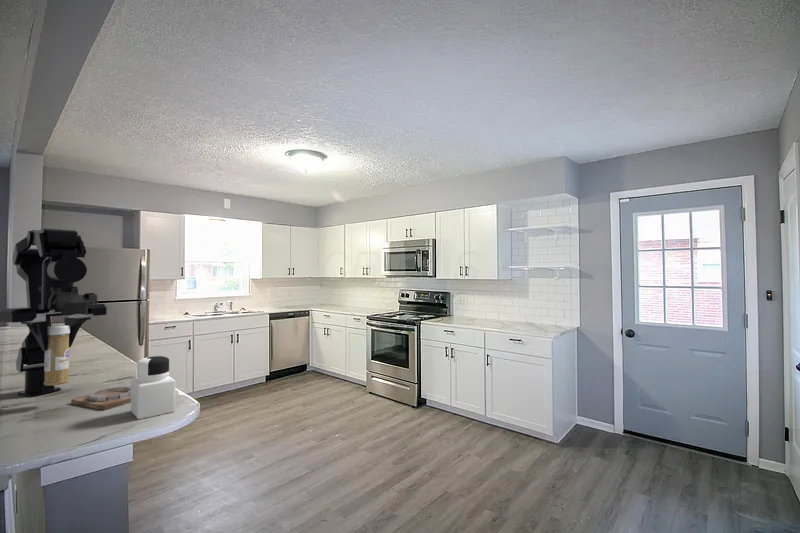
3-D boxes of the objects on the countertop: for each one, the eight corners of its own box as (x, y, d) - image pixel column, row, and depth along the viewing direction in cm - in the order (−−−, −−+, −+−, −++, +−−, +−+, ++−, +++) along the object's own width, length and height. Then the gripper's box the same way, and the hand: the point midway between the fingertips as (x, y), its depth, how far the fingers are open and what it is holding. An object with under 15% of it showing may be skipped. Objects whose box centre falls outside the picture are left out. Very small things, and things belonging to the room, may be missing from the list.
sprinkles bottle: (67, 384, 92) (68, 326, 92) (41, 387, 89) (42, 327, 90) (70, 379, 96) (71, 324, 96) (45, 382, 93) (46, 325, 93)
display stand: (71, 403, 93) (71, 395, 93) (119, 391, 103) (119, 383, 104) (104, 410, 89) (104, 401, 89) (151, 396, 99) (151, 388, 99)
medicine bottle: (166, 404, 93) (167, 353, 93) (175, 411, 88) (176, 357, 88) (130, 411, 88) (131, 357, 88) (137, 420, 83) (138, 362, 83)
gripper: (27, 283, 81) (26, 359, 81) (121, 282, 98) (120, 345, 98) (-2, 283, 86) (-3, 355, 85) (93, 281, 103) (92, 342, 102)
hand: (57, 349), depth 93 cm, fingers closed on sprinkles bottle, 4 cm apart
